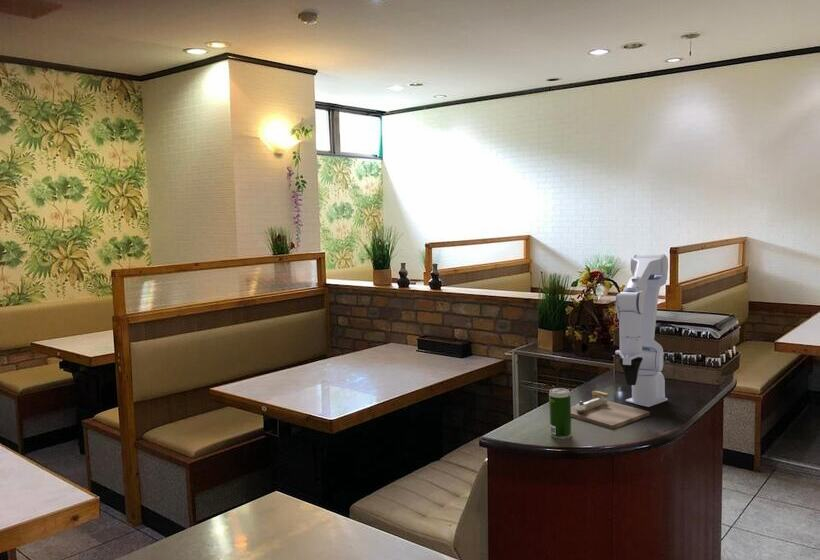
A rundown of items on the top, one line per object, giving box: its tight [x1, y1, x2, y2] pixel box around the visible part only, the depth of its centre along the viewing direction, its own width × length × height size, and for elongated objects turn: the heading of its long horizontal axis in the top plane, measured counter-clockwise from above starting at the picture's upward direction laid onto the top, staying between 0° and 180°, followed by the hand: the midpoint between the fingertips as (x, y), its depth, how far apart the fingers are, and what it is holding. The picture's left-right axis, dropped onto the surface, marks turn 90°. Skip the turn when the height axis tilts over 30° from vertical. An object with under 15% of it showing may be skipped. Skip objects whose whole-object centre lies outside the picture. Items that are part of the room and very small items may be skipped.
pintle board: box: [571, 390, 651, 430], centre depth 184 cm, size 16×18×4 cm
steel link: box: [575, 396, 608, 413], centre depth 186 cm, size 12×3×3 cm, turn 128°
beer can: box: [548, 387, 572, 440], centre depth 169 cm, size 5×5×12 cm
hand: (631, 384), depth 179 cm, fingers closed
